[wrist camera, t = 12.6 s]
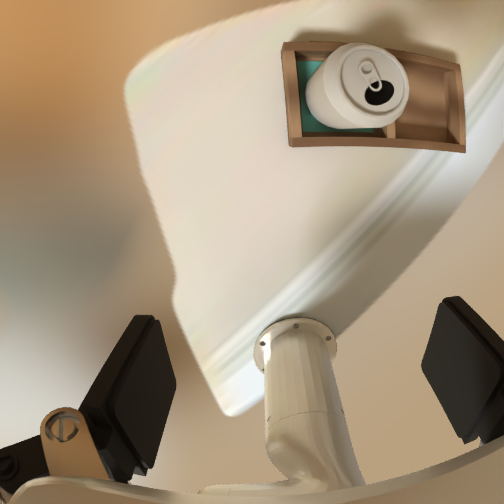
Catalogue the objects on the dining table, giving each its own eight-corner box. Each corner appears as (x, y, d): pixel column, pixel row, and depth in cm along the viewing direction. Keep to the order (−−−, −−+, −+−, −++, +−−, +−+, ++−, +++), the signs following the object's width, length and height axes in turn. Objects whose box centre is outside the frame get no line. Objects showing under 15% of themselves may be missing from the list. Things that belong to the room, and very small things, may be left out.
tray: (448, 149, 31) (465, 153, 28) (288, 145, 32) (292, 147, 29) (443, 66, 27) (459, 62, 23) (280, 49, 28) (283, 39, 24)
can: (328, 141, 31) (365, 145, 20) (290, 87, 29) (306, 61, 18) (379, 109, 29) (433, 102, 18) (342, 56, 27) (381, 23, 16)
